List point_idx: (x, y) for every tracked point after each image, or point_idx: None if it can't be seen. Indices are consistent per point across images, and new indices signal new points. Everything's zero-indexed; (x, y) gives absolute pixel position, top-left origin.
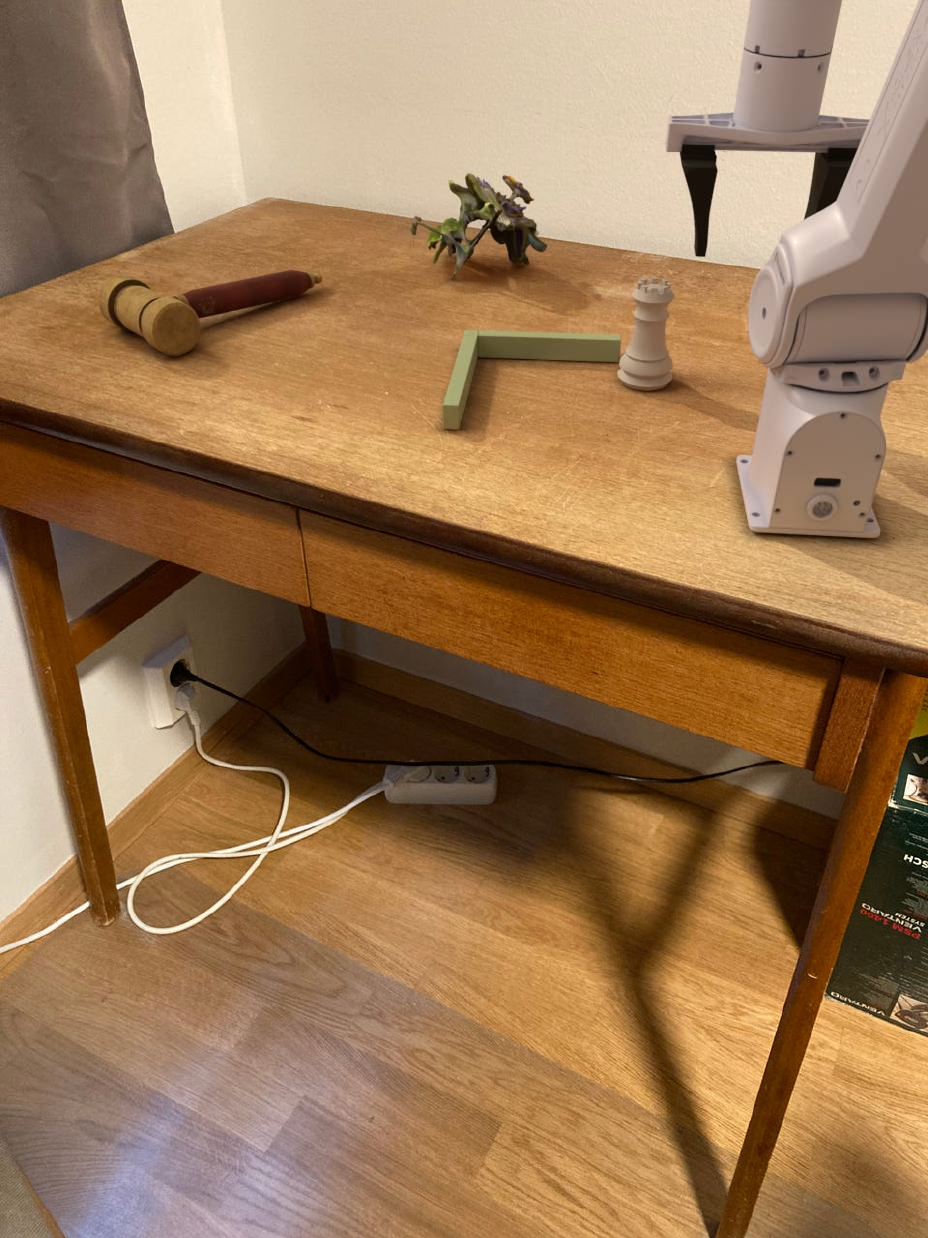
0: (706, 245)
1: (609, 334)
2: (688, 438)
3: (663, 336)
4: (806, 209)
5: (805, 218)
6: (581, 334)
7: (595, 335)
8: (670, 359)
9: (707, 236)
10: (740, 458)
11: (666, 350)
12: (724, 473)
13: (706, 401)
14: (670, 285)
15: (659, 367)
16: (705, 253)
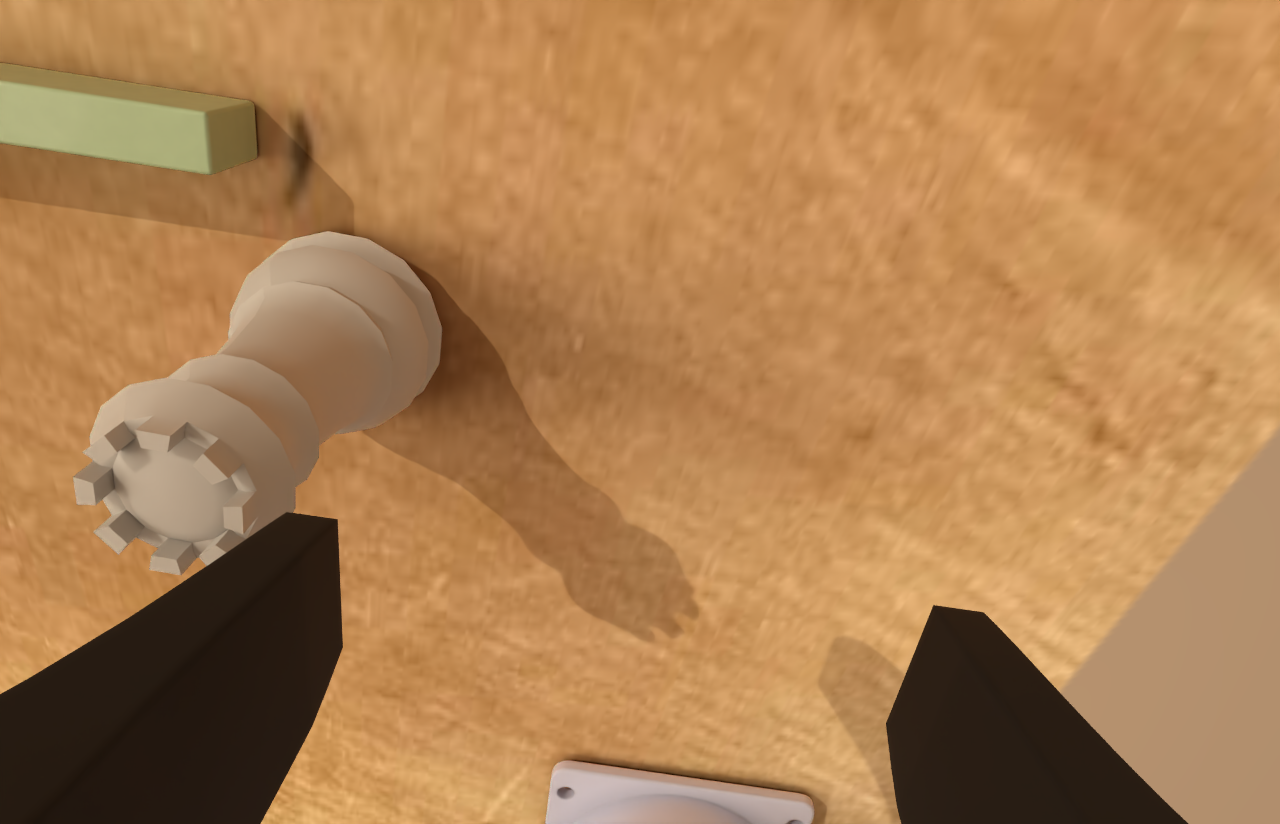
0: (311, 715)
1: (155, 111)
2: (461, 653)
3: (334, 433)
4: (1060, 782)
5: (1012, 776)
6: (33, 102)
7: (96, 117)
8: (410, 363)
9: (282, 777)
10: (558, 782)
11: (376, 394)
12: (523, 784)
13: (542, 471)
14: (243, 532)
15: (367, 425)
16: (333, 668)
